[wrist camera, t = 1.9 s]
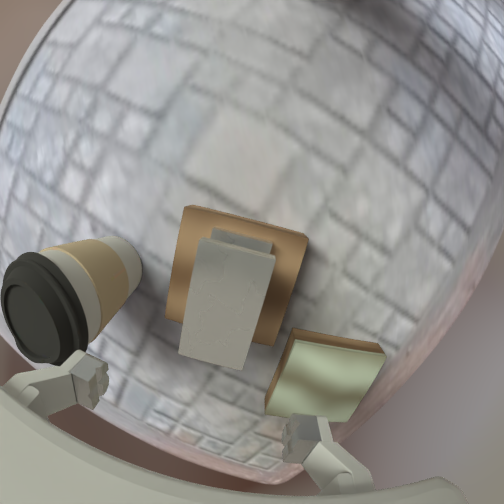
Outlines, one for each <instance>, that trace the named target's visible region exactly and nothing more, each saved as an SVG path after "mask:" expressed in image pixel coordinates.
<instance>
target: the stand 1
mask: <svg viewBox="0 0 504 504" xmlns="http://www.w3.org/2000/svg"><path fill="white" fill-rule="evenodd" d="M215 226H216V227H219V228H223V229H227V230H231V231H235V232H239V233H243V234H247V235H250V236H254V237H258V238H262V239H266V240H269V241H272V248H271V251H270V254H271V255H275V258H276V262H275V265H274V268H273V272H272V275H271V279H270V282H269V285H268V289H267V292H266V295H265V299H264V302H263V305H262V309H261V312H260V315H259V318H258V322H257V325H256V328H255V331H254V334H253V338H252V341H251V342H255V343H260V344H264V345H269V346H274V343H275V340H276V337H277V335H278V332H279V329H280V326H281V323H282V320H283V318H284V315H285V312H286V309H287V306H288V303H289V300H290V297H291V294H292V291H293V288H294V285H295V282H296V279H297V275H298V272H299V269H300V266H301V263H302V260H303V256H304V253H305V250H306V247H307V243H308V240H309V239H308V238H307V237H306V236H305V235H304V233H300V232H297V231H293V230H289V229H286V228H282V227H278V226H275V225H271V224H267V223H263V222H260V221H256V220H252V219H248V218H244V217H241V216H237V215H233V214H229V213H225V212H221V211H217V210H213V209H209V208H205V207H201V206H196V205H189V206H186V207H184V211H183V215H182V220H181V225H180V230H179V235H178V240H177V245H176V250H175V256H174V261H173V267H172V273H171V279H170V285H169V291H168V298H167V305H166V312H165V318H166V319H169V320H173V321H176V322H179V323H183V320H184V314H185V308H186V303H187V297H188V292H189V287H190V282H191V276H192V271H193V266H194V262H195V257H196V252H197V247H198V243H199V240H200V239H201V238H202V237H206V238H210V237H211V233H212V229H213V228H214V227H215Z"/></svg>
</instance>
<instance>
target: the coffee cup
mask: <svg viewBox="0 0 504 504" xmlns="http://www.w3.org/2000/svg"><path fill="white" fill-rule="evenodd" d="M141 277H142V264H141V260H140V257H139V255H138V253H137V252H136V250H135V249H134V247H133V246H132V245H131V244H130V243H129V242H127V241H126V240H124V239H123V238H120V237H117V236H107V237H103V238H98V239H87V240H82V241H77V242H72V243H68V244H63V245H58V246H54V247H49V248H46V249H43V250H42V251H40V252H39V253H35V252H27V253H24V254H22V255H21V256H19V257H18V258H17V259H16V260H15V261H13V262H12V263H11V264H10V265H9V266H8V268H7V270H6V272H5V275H4V279H3V286H2V289H1V306H2V311H3V315H4V318H5V321H6V323H7V325H8V327H9V329H10V331H11V333H12V335H13V336H14V338H15V342H16V345H17V347H18V349H19V350H20V352H21V353H22V354H23V355H24V356H26V357H27V358H28V359H29V360H31V361H32V362H35V363H50V364H52V365H55V366H61V365H62V364H63V363H64V362H65V361H66V360H67V359H68V358H69V357H70V356H71V355H72V354H73V353H74V352H75V351H76V350H79V349H80V350H82V351H83V352H86V350H87V347H88V345H89V343H91V342H92V341H93V340H95V339H96V337H97V336H98V335H99V334H100V332H101V331H102V330H103V329H104V327H105V326H106V325H107V324H108V323H109V321H110V320H111V319H112V318H113V317H114V315H115V314H116V313H117V312H118V310H119V309H120V308H121V307H122V306H123V305H124V303H125V301H126V299H127V298H128V297H129V296H130V294H131V293H132V292H133V291H134V290H135V289H136V288H137V286H138V285H139V283H140V281H141Z"/></svg>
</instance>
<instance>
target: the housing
mask: <svg viewBox="0 0 504 504" xmlns="http://www.w3.org/2000/svg"><path fill="white" fill-rule="evenodd" d="M271 248H272V241H269V240H266V239H262V238H258V237H254V236H250V235H247V234H243V233H239V232H235V231H231V230H227V229H223V228H219V227H216V226H215V227H214V228H213V229H212V233H211V237H210V238H206V237H202V238H201V239H200V240H199V243H198V247H197V252H196V257H195V262H194V266H193V271H192V276H191V282H190V287H189V292H188V297H187V303H186V308H185V314H184V320H183V326H182V332H181V338H180V344H179V351H178V354H180V355H183V356H187V357H190V358H194V359H197V360H201V361H205V362H208V363H212V364H216V365H220V366H224V367H228V368H232V369H236V370H241V371H242V369H243V366H244V363H245V360H246V357H247V353H248V350H249V347H250V344H251V341H252V338H253V334H254V331H255V328H256V325H257V322H258V318H259V315H260V312H261V309H262V305H263V302H264V299H265V295H266V292H267V289H268V285H269V282H270V279H271V275H272V272H273V268H274V265H275V262H276V258H275V255H271V254H270V251H271Z"/></svg>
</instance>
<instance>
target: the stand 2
mask: <svg viewBox="0 0 504 504" xmlns="http://www.w3.org/2000/svg"><path fill="white" fill-rule="evenodd" d="M386 358H387V356H386V355H385V353H384V352H383V350H382V349H381V347H380V346H379V344H378V343H373V342H366V341H360V340H354V339H348V338H343V337H337V336H332V335H326V334H321V333H316V332H311V331H306V330H301V329H296V328H292V331H291V334H290V336H289V339H288V341H287V344H286V347H285V349H284V352H283V354H282V357H281V360H280V362H279V365H278V367H277V370H276V372H275V374H274V377H273V379H272V382H271V384H270V387H269V389H268V391H267V394H266V396H265V414H266V415H272V416H279V417H286V418H290V416H291V415H292V414H293V413H299V414H309V415H321V416H326V417H327V419H328V422H347V421H348V419H349V418H350V417H351V415H352V414H353V412H354V411H355V409H356V408H357V406H358V405H359V403H360V402H361V400H362V398H363V397H364V395H365V394H366V392H367V391H368V389H369V387H370V386H371V384H372V382H373V381H374V379H375V377H376V376H377V374H378V372H379V370H380V369H381V367H382V365H383V363H384V361H385V359H386Z"/></svg>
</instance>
